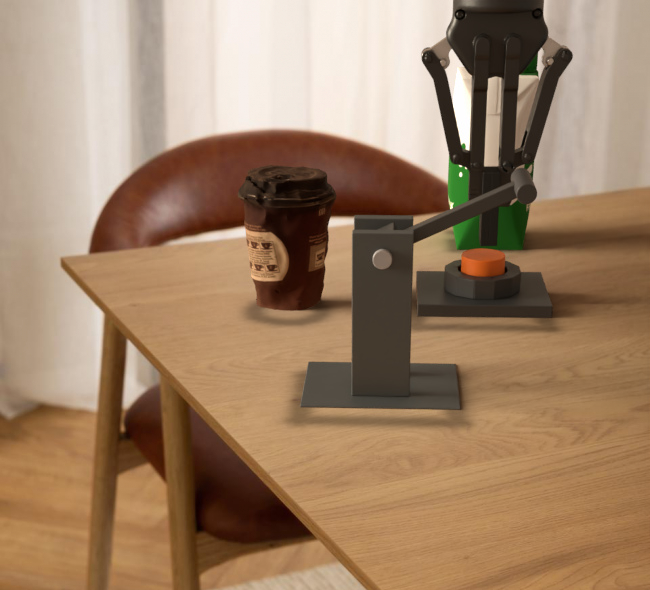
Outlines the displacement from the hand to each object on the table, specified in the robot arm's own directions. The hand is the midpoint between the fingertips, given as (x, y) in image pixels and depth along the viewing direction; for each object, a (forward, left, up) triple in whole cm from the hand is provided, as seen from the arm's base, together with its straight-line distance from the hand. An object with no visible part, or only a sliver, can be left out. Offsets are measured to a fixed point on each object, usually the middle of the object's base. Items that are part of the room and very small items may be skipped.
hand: (487, 241), depth 108 cm
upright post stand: (+9, +21, -7) cm, 24 cm away
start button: (0, 0, -3) cm, 3 cm away
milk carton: (-2, -23, -7) cm, 24 cm away
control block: (0, 0, -7) cm, 7 cm away
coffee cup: (+18, +1, -7) cm, 20 cm away
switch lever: (+4, +21, +6) cm, 22 cm away
